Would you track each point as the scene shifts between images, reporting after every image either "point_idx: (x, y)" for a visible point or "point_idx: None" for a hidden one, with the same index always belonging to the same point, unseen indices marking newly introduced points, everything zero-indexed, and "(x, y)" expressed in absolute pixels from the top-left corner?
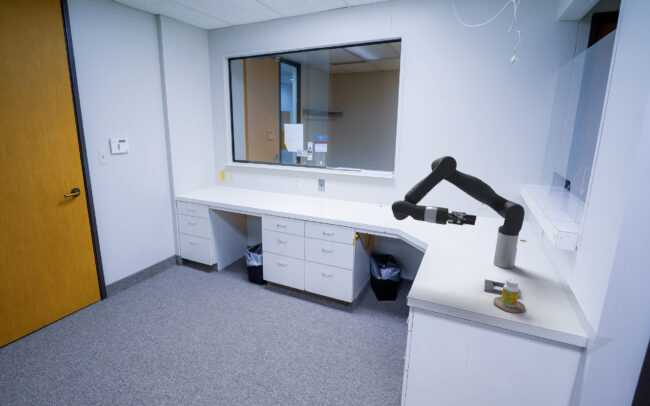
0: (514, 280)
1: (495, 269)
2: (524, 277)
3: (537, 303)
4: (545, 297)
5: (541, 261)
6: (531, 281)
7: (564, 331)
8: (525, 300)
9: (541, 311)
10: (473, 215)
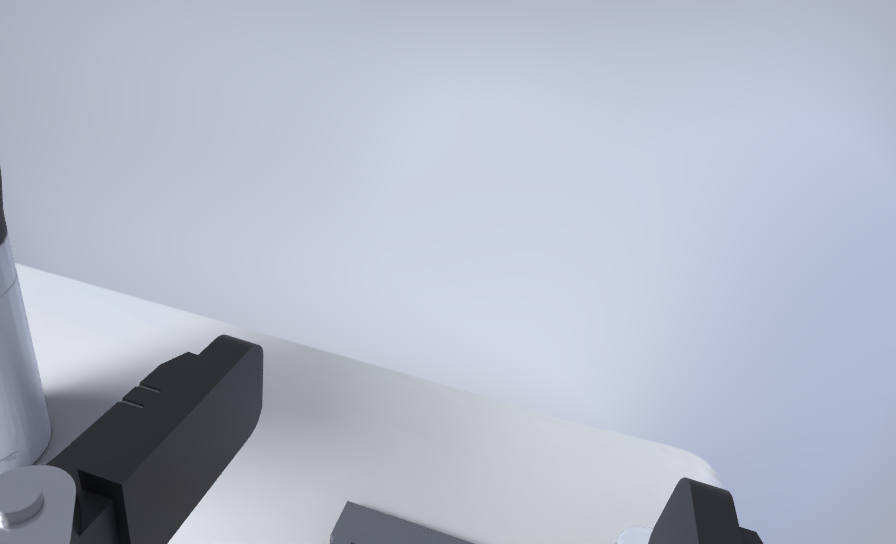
0: (636, 538)
1: None
2: None
3: (503, 492)
4: (426, 434)
5: None
6: None
7: None
8: (489, 533)
9: (581, 511)
10: (225, 372)
